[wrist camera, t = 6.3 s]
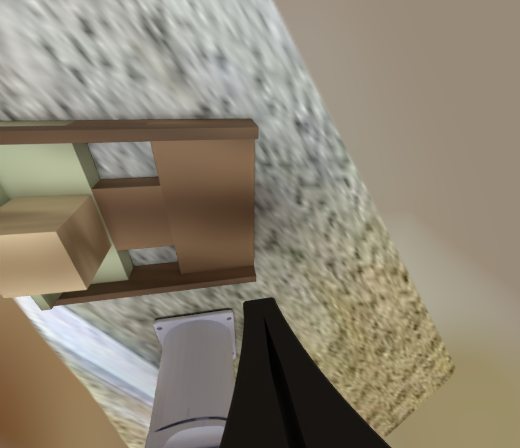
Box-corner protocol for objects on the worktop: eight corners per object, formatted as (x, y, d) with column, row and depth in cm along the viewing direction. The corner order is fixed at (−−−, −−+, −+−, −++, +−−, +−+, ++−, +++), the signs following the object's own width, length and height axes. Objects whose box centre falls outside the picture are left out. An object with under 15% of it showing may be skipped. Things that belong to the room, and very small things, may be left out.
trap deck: (251, 259, 21) (257, 288, 19) (70, 278, 19) (45, 315, 16) (251, 118, 15) (260, 130, 12) (-26, 121, 12) (-96, 136, 10)
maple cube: (111, 245, 16) (87, 289, 13) (47, 250, 16) (4, 298, 12) (91, 194, 14) (55, 231, 11) (15, 197, 14) (-47, 238, 10)
